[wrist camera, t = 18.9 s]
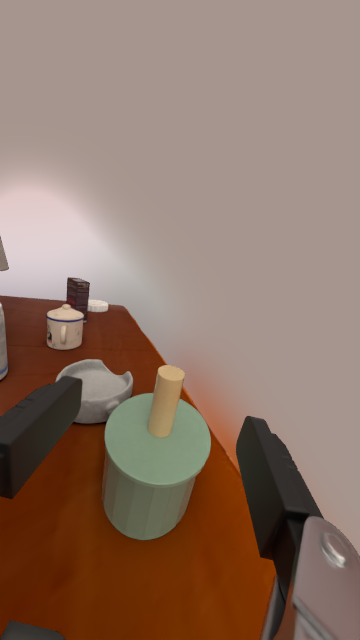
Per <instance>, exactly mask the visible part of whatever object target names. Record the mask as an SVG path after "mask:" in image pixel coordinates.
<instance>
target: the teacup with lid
mask: <svg viewBox="0 0 360 640" xmlns="http://www.w3.org/2000/svg"><path fill="white" fill-rule="evenodd" d="M46 317H47V345H48V346H49V347H51V348H54V349H59V350H67V349H73V348H76V347H78V346H80V345H81V343H82V329H83V319H84V315H83V313H81V312H79V311H76V310H74V309H72V308H71V306H70V305H68V304H64V305H62V308H58V309H56V310H51V311H49V312H48V313H47V315H46Z"/></svg>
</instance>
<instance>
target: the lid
mask: <svg viewBox="0 0 360 640" xmlns="http://www.w3.org/2000/svg"><path fill="white" fill-rule="evenodd" d="M184 377H185V374H184V372H183V371H182V370H181V369H180V368H178V367H175V366H170V365H165V366H161V367H160V368H159V369H158V372H157V378H156V383H155V388H154V393H147V394H141V395H137V396H134V397H131V398H129V399H127V400H125V401H124V402H122V403H121V404H120V405H119V406H117V407H116V409H115V410H114V411H113V412H112V414H111V415H110V417H109V419H108V421H107V424H106V427H105V433H104V443H105V449H106V452H107V455H108V457H109V459H110V461H111V462H112V464H113V465H114V466H115V468H116V469H117V470H118V471H119V472H120V473H121V474H122V475H124V476H125V477H127V478H128V479H129V480H131V481H133V482H135V483H137V484H140V485H144V486H147V487H153V488H168V487H174V486H177V485H181V484H183V483H185V482H187V481H189V480H190V479H192V478H193V477H195V476H196V475H197V474H198V473H199V472H200V471H201V469H202V468H203V467H204V465H205V463H206V461H207V459H208V456H209V452H210V447H211V438H210V432H209V429H208V426H207V424H206V422H205V421H204V419H203V417H202V416H201V415H200V413H199V412H198V411H197V410H196V409H195V408H193V407H192V406H191V405H190V404H188V403H187V402H185V401H183V400H181V399H179V398H180V394H181V390H182V385H183V381H184Z"/></svg>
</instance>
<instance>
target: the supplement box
mask: <svg viewBox="0 0 360 640" xmlns="http://www.w3.org/2000/svg"><path fill="white" fill-rule="evenodd" d="M89 285H90V283H89V282H87V281H84V280H82V279H79V278H68V281H67V302H66V304H68V305H70V306H71V308H72V309H74V310H76V311H79V312H81V313H83V315H84V319H83V323H86V322H87V311H88V297H89Z"/></svg>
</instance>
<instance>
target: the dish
mask: <svg viewBox="0 0 360 640" xmlns="http://www.w3.org/2000/svg"><path fill="white" fill-rule="evenodd" d="M65 375H66V376H71V377H76V378H80V379H82V381H83V385H82V398H81V408H80V411H79V413H78V415H77V417H76V419H75V420H74V421H73V422H79V423H100V422H104V421H108V419H109V417H110V415H111V414H112V412H113V411H114V410H115V409H116V407H117V406H119V405H120V404H121V403H122V402H124V401H125V400H127V399H129V398H130V397H131V393H132V388H133V378H132V375H131V373H130V372H129V371H128V372H126V373H125V374H124V375H120V376H118V375H115V374H113V373H112V372H110V371H109V370H108V368H107V367H106V366H105V365H104V364H103V362H102V361H101V360H90V359H86V360H84V361H79V362H76V363H74V364H72V365H69V366H67V367H65V368H64V369H63V370H62V372H60V373H59V374H58V376H57V378H56V381H55V383H56V382H57V381H58V380H59V379H60V378H62V377H63V376H65Z"/></svg>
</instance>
